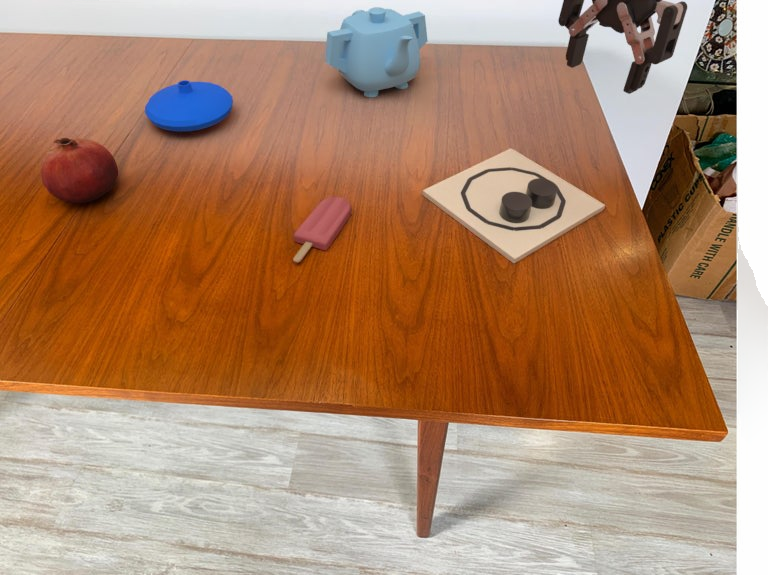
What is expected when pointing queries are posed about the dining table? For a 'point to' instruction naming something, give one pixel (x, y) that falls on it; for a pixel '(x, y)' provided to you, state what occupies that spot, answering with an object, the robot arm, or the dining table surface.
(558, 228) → the board
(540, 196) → the dot right
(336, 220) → the popsicle
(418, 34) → the teapot
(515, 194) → the dot left
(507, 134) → the dining table surface
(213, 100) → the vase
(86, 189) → the fruit
